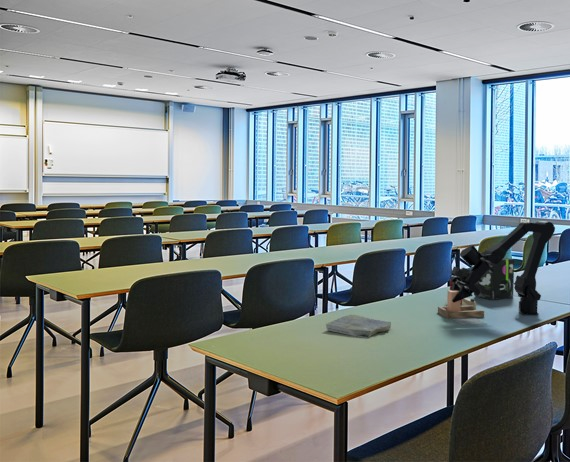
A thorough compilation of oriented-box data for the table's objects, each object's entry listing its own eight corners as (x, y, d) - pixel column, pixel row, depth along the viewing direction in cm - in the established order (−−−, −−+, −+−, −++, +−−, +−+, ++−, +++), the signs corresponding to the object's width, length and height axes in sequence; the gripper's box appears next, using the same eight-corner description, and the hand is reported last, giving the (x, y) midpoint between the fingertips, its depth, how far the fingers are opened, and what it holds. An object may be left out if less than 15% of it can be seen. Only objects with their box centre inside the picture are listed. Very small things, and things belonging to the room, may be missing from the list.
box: (491, 300, 278) (492, 260, 277) (474, 296, 289) (475, 257, 287) (514, 297, 284) (515, 258, 282) (496, 293, 295) (497, 255, 293)
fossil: (373, 342, 213) (394, 329, 227) (373, 330, 213) (394, 317, 226) (326, 336, 225) (348, 323, 239) (325, 324, 224) (348, 312, 238)
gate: (466, 305, 265) (466, 295, 264) (476, 310, 256) (476, 299, 255) (461, 305, 265) (462, 295, 264) (471, 310, 255) (471, 299, 255)
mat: (474, 319, 242) (474, 317, 242) (486, 325, 232) (486, 323, 232) (451, 320, 240) (451, 318, 240) (462, 326, 230) (462, 324, 230)
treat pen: (464, 306, 265) (464, 300, 265) (488, 318, 244) (488, 310, 243) (427, 308, 263) (427, 301, 263) (448, 319, 241) (448, 312, 241)
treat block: (456, 313, 249) (456, 290, 249) (460, 315, 246) (460, 291, 245) (447, 314, 249) (447, 290, 248) (451, 316, 245) (451, 292, 244)
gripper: (454, 256, 255) (429, 283, 254) (474, 263, 237) (447, 291, 236) (471, 274, 257) (446, 301, 256) (492, 282, 238) (465, 310, 238)
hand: (450, 300), depth 246 cm, fingers closed on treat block, 4 cm apart
